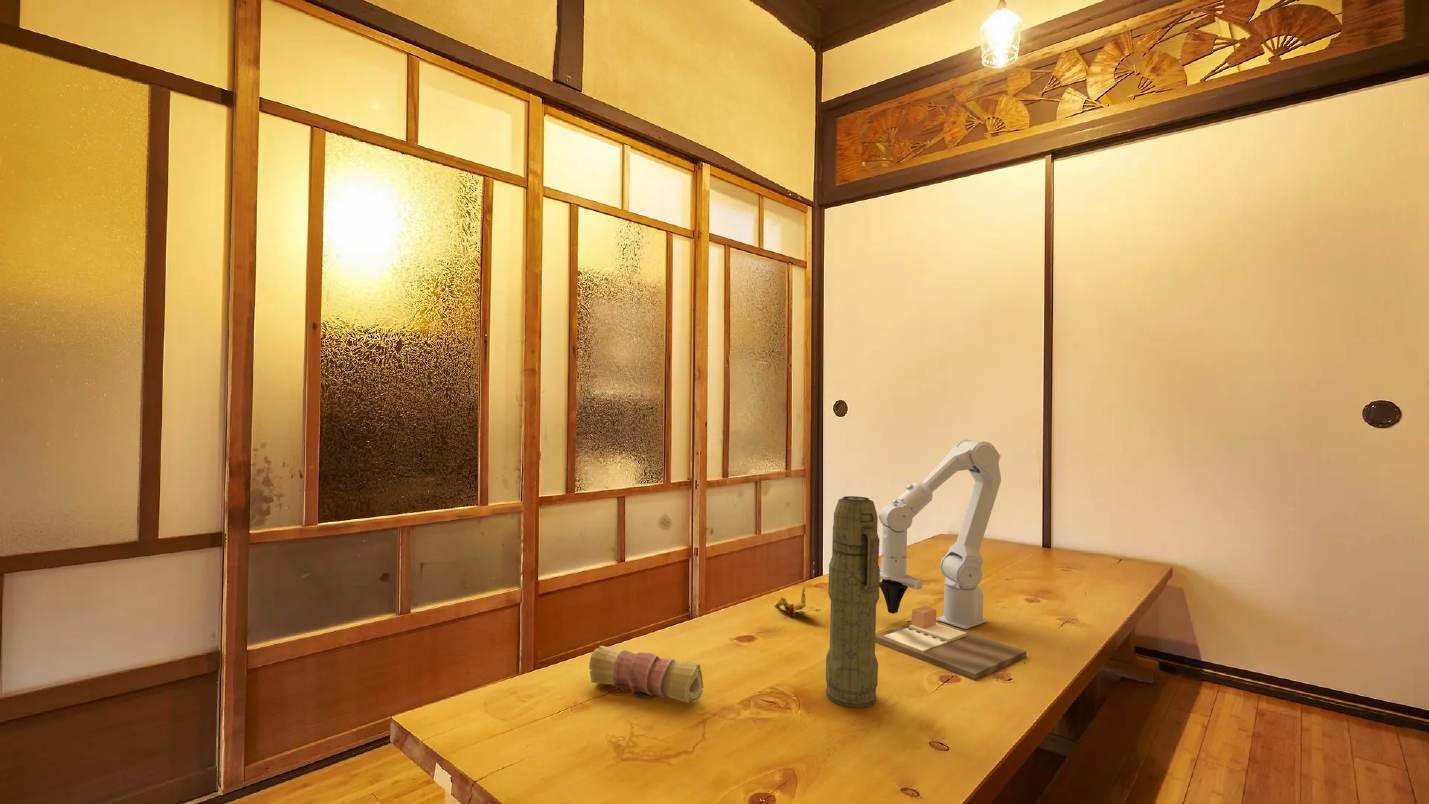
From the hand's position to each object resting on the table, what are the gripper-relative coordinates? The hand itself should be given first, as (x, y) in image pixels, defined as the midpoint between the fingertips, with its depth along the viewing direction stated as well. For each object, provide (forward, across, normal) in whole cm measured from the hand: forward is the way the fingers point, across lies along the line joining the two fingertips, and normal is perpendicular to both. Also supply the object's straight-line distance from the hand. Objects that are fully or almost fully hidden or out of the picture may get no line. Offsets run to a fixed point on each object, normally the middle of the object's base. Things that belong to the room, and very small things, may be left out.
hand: (892, 612), depth 151 cm
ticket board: (+2, +17, -4) cm, 18 cm away
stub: (+1, +12, 0) cm, 12 cm away
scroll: (+3, -1, -68) cm, 68 cm away
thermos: (+3, +20, -39) cm, 44 cm away
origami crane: (+3, -16, -16) cm, 23 cm away
